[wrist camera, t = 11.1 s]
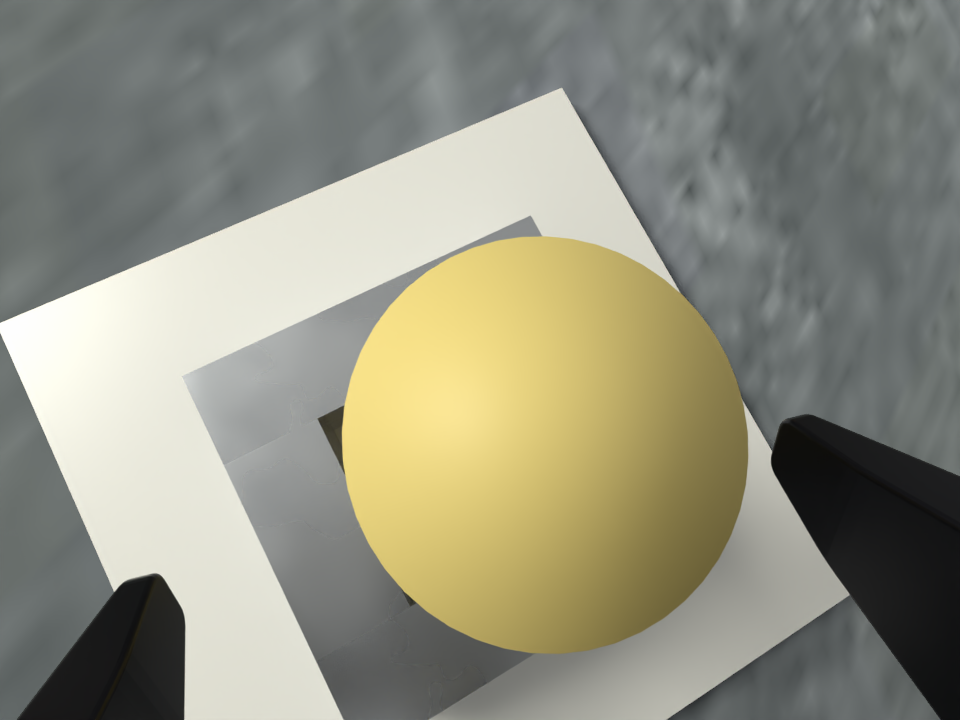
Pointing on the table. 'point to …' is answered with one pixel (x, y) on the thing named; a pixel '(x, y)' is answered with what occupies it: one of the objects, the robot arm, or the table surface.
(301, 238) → the base plate
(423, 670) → the metal collar
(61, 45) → the table surface
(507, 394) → the pin
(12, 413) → the table surface
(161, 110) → the table surface
